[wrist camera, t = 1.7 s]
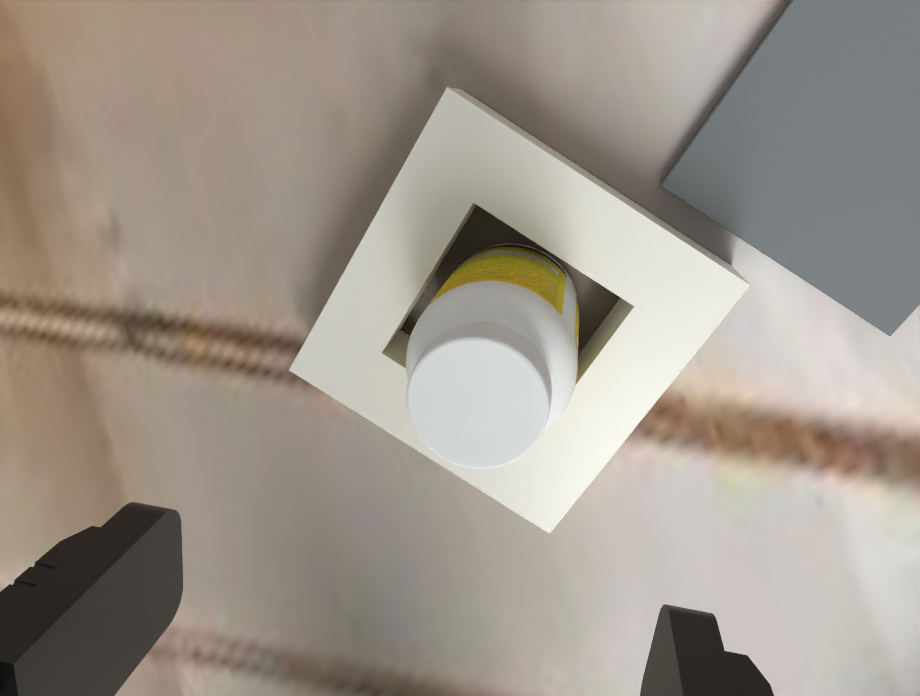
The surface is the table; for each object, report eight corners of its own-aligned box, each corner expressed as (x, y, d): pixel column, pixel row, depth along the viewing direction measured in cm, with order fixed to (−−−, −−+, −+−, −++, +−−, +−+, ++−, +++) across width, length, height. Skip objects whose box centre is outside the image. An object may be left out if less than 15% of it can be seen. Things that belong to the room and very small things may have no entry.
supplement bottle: (421, 273, 29) (347, 351, 19) (547, 218, 27) (530, 275, 18) (477, 390, 30) (431, 515, 21) (599, 343, 28) (609, 457, 19)
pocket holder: (552, 494, 31) (549, 533, 28) (315, 345, 30) (289, 370, 28) (732, 266, 27) (750, 285, 24) (461, 89, 26) (447, 87, 23)
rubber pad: (883, 331, 27) (890, 336, 26) (659, 184, 26) (661, 186, 26) (1107, 86, 23) (1121, 85, 22) (852, -88, 23) (859, -93, 22)
